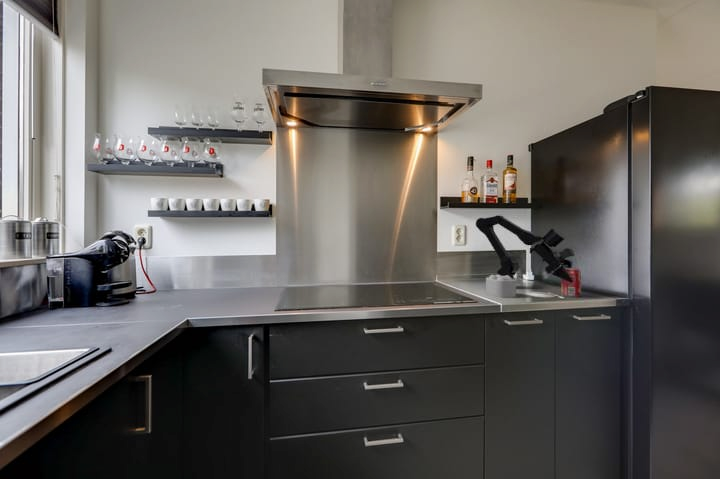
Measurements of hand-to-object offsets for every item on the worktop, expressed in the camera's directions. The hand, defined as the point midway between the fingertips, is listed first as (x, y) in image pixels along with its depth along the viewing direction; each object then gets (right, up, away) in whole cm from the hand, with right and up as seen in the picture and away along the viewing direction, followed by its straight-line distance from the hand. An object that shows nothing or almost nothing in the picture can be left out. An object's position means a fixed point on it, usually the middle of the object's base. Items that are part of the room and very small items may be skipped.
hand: (574, 281), depth 135 cm
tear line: (-7, -7, +2) cm, 10 cm away
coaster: (-13, -6, +2) cm, 15 cm away
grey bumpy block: (-32, -7, +3) cm, 32 cm away
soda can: (-1, -7, +1) cm, 7 cm away
